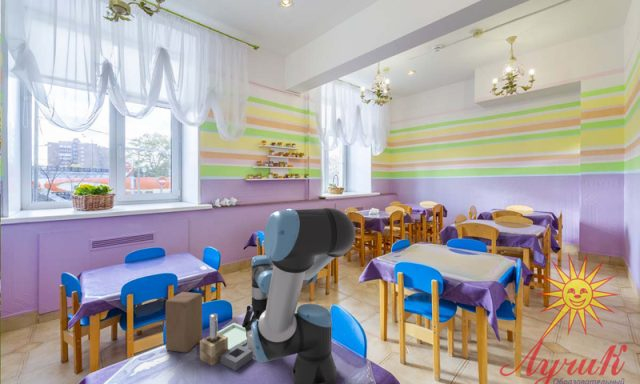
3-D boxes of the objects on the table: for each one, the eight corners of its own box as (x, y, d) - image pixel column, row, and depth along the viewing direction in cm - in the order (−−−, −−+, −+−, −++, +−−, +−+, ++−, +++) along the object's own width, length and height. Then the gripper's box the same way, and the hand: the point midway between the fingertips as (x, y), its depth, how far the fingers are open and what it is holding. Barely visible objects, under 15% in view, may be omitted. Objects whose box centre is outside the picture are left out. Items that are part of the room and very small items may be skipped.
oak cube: (227, 355, 102) (227, 337, 102) (212, 365, 96) (211, 346, 96) (215, 349, 106) (215, 332, 106) (199, 359, 100) (199, 340, 100)
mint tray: (257, 335, 116) (257, 331, 116) (229, 353, 103) (229, 349, 103) (233, 326, 124) (233, 322, 124) (205, 342, 111) (205, 338, 111)
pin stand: (252, 358, 100) (252, 350, 100) (235, 370, 94) (235, 362, 94) (237, 351, 105) (237, 344, 105) (220, 363, 98) (220, 355, 98)
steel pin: (219, 356, 102) (219, 314, 101) (213, 360, 99) (212, 317, 99) (214, 354, 103) (214, 312, 103) (208, 358, 101) (207, 315, 100)
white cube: (274, 349, 106) (274, 332, 106) (262, 359, 100) (262, 340, 100) (261, 344, 110) (261, 327, 109) (248, 353, 104) (248, 335, 103)
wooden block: (187, 354, 103) (186, 302, 103) (164, 350, 105) (164, 300, 105) (203, 339, 113) (203, 292, 113) (182, 337, 115) (182, 290, 115)
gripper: (292, 298, 101) (292, 355, 102) (246, 286, 114) (247, 337, 114) (279, 306, 95) (279, 366, 95) (232, 292, 107) (233, 346, 108)
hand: (261, 350), depth 105 cm, fingers open, 12 cm apart
